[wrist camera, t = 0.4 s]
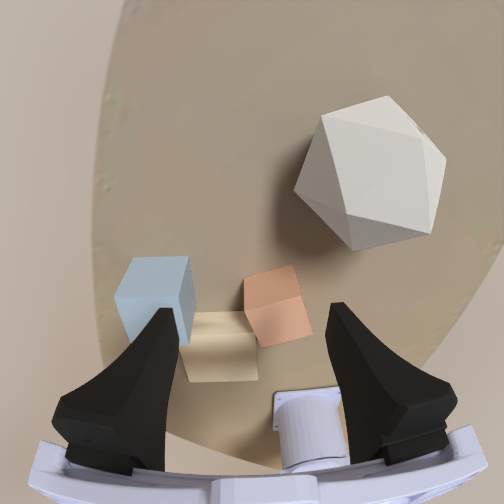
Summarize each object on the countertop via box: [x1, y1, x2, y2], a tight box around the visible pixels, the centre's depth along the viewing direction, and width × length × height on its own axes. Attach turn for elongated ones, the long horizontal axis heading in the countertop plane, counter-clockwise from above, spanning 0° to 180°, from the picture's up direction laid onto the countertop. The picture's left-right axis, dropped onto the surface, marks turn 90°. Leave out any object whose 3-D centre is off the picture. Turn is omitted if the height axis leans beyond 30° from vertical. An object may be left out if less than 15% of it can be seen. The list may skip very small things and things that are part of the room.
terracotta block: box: [244, 264, 313, 348], centre depth 24 cm, size 4×4×4 cm
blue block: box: [114, 256, 196, 346], centre depth 22 cm, size 4×4×5 cm
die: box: [294, 96, 447, 252], centre depth 17 cm, size 8×9×10 cm
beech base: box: [179, 311, 258, 382], centre depth 27 cm, size 6×6×3 cm
